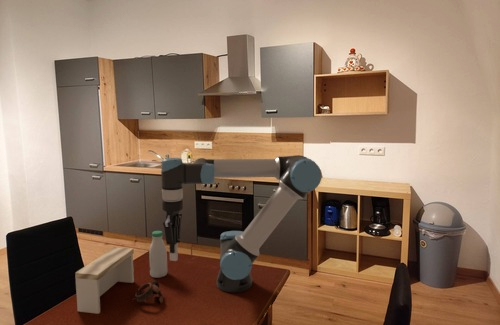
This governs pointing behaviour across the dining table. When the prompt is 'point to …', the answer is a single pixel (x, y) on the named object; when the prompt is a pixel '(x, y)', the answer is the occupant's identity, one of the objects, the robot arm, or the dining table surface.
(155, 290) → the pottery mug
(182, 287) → the dining table surface
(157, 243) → the milk bottle
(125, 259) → the small wooden bench
